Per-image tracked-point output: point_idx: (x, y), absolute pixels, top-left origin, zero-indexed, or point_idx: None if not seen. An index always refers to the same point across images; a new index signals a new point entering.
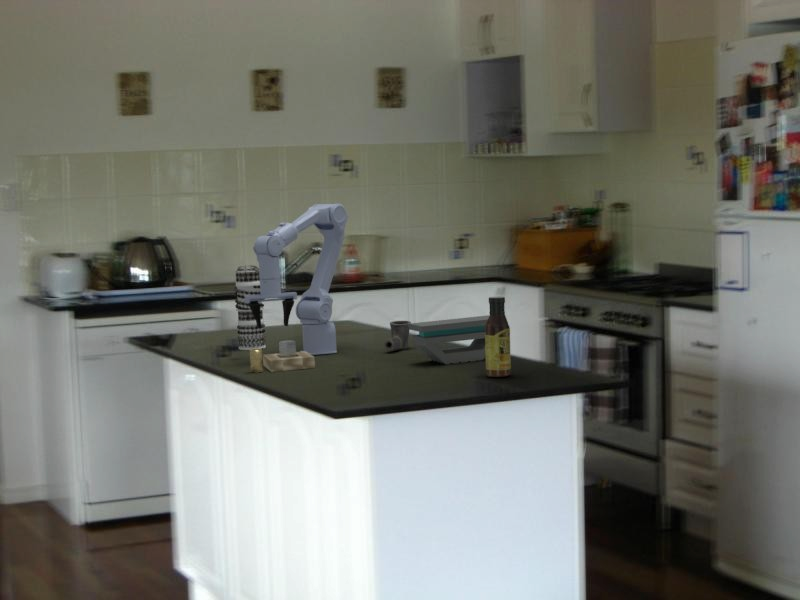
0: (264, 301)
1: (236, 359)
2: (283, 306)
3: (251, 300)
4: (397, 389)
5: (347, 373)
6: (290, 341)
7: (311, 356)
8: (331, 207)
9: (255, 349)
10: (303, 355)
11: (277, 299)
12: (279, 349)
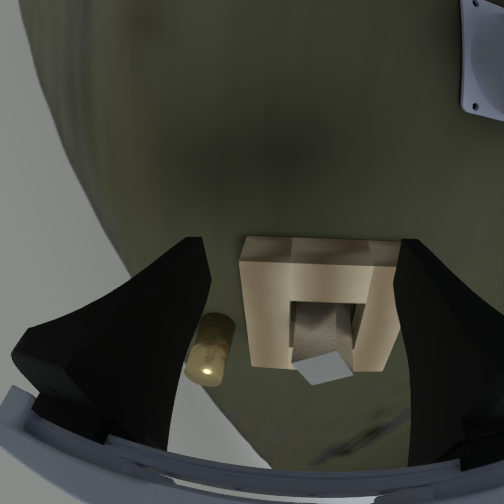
0: (191, 464)
1: (148, 27)
2: (454, 363)
3: (63, 440)
4: (377, 462)
5: (396, 404)
6: (333, 375)
7: (380, 363)
8: None
9: (201, 372)
10: (369, 342)
11: (357, 489)
12: (294, 339)
